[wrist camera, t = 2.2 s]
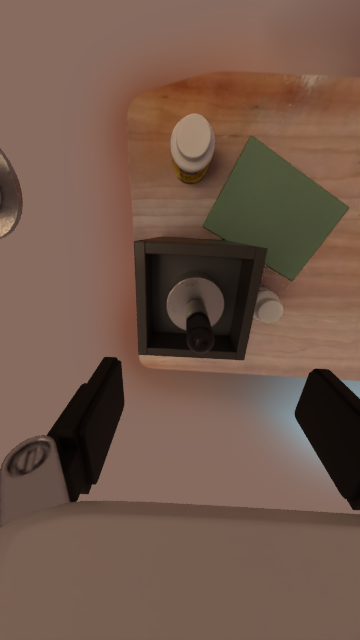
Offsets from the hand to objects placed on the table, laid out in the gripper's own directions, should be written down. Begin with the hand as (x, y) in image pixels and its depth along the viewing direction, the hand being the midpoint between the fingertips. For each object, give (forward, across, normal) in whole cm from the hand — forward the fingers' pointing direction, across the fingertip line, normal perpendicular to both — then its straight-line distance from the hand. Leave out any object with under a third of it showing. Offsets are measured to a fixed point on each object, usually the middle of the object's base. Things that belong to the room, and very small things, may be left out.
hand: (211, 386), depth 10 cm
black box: (+31, 0, 0) cm, 31 cm away
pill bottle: (+32, -12, +4) cm, 34 cm away
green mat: (+31, -13, -10) cm, 35 cm away
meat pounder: (+15, 0, 0) cm, 15 cm away
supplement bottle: (+31, +2, -17) cm, 36 cm away
